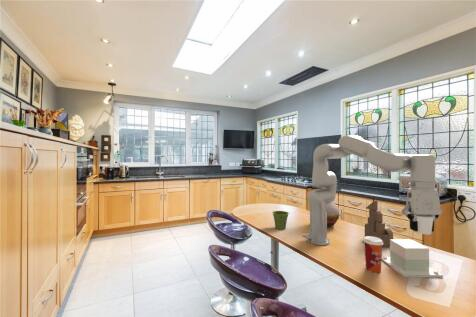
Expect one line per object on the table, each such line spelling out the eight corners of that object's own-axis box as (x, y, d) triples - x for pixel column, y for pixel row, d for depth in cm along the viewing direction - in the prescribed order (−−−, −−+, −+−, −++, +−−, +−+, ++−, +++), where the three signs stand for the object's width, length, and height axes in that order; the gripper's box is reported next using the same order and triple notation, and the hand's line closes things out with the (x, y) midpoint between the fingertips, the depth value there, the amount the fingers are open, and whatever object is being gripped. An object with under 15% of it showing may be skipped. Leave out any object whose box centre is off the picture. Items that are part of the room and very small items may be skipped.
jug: (307, 225, 160) (306, 185, 159) (318, 220, 172) (318, 183, 171) (333, 231, 145) (332, 187, 145) (343, 225, 157) (343, 185, 157)
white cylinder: (406, 229, 88) (406, 212, 88) (421, 228, 89) (421, 211, 89) (422, 235, 81) (422, 217, 81) (438, 234, 82) (438, 216, 82)
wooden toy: (394, 245, 121) (393, 202, 121) (385, 247, 119) (384, 203, 119) (370, 236, 136) (370, 197, 136) (362, 237, 134) (361, 198, 134)
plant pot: (285, 232, 146) (285, 215, 145) (269, 229, 152) (269, 213, 152) (291, 227, 156) (291, 211, 156) (276, 224, 162) (275, 209, 162)
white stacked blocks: (403, 277, 90) (403, 251, 90) (380, 258, 106) (379, 237, 106) (442, 277, 89) (442, 251, 89) (413, 259, 105) (412, 237, 105)
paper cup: (376, 275, 91) (376, 243, 91) (359, 267, 98) (359, 237, 98) (387, 271, 94) (387, 240, 94) (370, 263, 101) (370, 234, 101)
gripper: (407, 186, 81) (406, 233, 82) (453, 186, 81) (453, 234, 81) (393, 184, 89) (393, 226, 89) (436, 184, 88) (435, 227, 88)
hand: (421, 229), depth 85 cm, fingers closed on white cylinder, 5 cm apart
